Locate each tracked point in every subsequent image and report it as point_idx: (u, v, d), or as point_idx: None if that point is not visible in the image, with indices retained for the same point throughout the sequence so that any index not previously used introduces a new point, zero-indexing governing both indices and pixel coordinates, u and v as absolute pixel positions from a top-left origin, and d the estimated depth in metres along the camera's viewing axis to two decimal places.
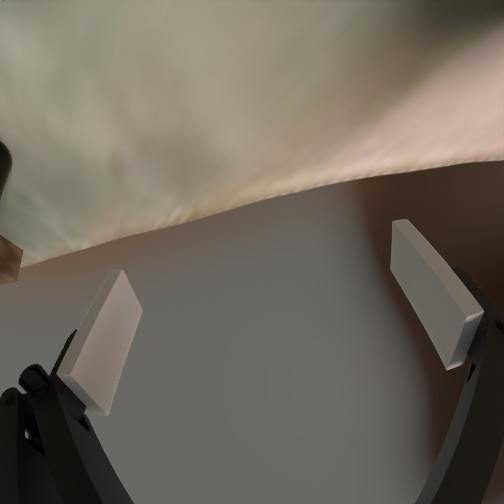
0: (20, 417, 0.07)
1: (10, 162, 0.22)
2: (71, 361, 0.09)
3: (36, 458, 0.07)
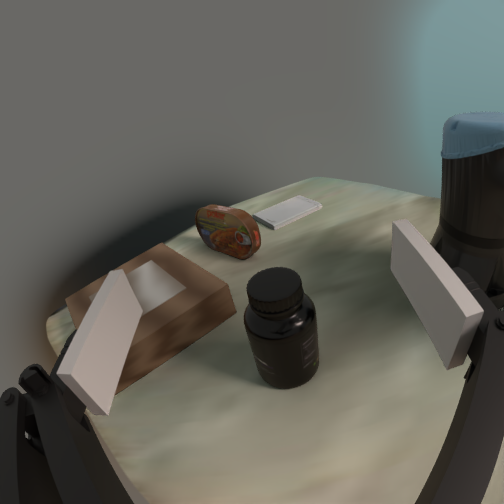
0: (20, 417, 0.07)
1: (294, 385, 0.30)
2: (71, 361, 0.09)
3: (36, 458, 0.07)
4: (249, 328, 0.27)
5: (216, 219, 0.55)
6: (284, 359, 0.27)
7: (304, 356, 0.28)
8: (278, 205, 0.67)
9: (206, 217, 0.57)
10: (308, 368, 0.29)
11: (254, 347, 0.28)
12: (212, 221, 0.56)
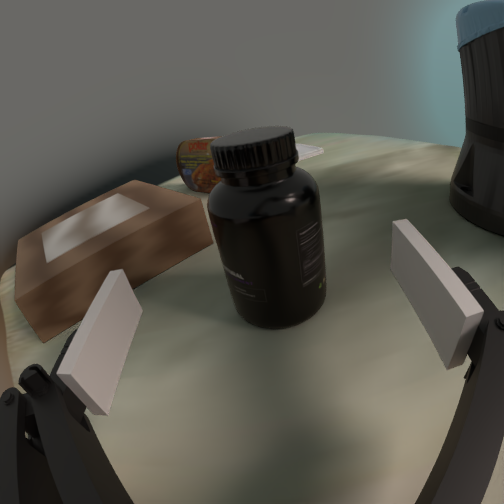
0: (20, 417, 0.07)
1: (288, 322, 0.20)
2: (71, 361, 0.09)
3: (36, 458, 0.07)
4: (213, 207, 0.17)
5: (198, 151, 0.45)
6: (269, 261, 0.17)
7: (302, 261, 0.18)
8: None
9: (188, 152, 0.47)
10: (310, 290, 0.19)
11: (222, 246, 0.18)
12: (194, 155, 0.46)
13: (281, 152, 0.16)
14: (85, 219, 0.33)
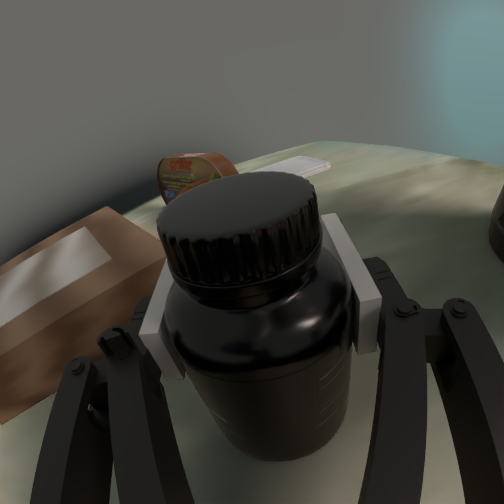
0: (86, 391, 0.08)
1: (292, 458, 0.12)
2: (154, 321, 0.11)
3: (94, 437, 0.08)
4: (170, 331, 0.10)
5: (181, 171, 0.37)
6: (266, 415, 0.09)
7: (320, 405, 0.10)
8: (272, 165, 0.50)
9: (169, 172, 0.39)
10: (327, 426, 0.11)
11: (191, 380, 0.11)
12: (177, 175, 0.38)
13: (293, 246, 0.08)
14: (43, 265, 0.25)
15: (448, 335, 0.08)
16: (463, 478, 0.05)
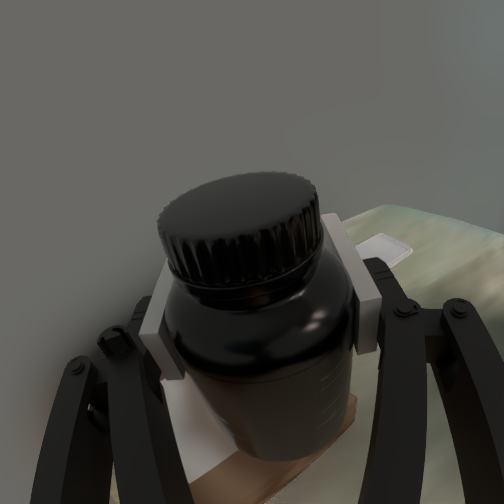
0: (86, 391, 0.08)
1: (293, 458, 0.12)
2: (154, 321, 0.11)
3: (94, 437, 0.08)
4: (171, 331, 0.10)
5: None
6: (267, 416, 0.09)
7: (321, 406, 0.10)
8: (360, 247, 0.52)
9: None
10: (328, 427, 0.11)
11: (192, 381, 0.11)
12: None
13: (294, 247, 0.08)
14: (199, 397, 0.28)
15: (448, 335, 0.08)
16: (463, 478, 0.05)
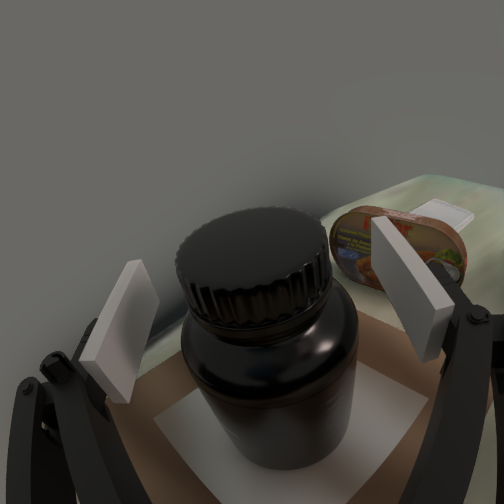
0: (38, 408, 0.08)
1: (298, 467, 0.13)
2: (94, 348, 0.10)
3: (51, 450, 0.07)
4: (188, 360, 0.10)
5: None
6: (277, 434, 0.10)
7: (325, 423, 0.11)
8: (418, 211, 0.41)
9: (359, 229, 0.30)
10: (331, 439, 0.12)
11: (207, 401, 0.11)
12: None
13: (306, 291, 0.08)
14: None
15: None
16: (498, 482, 0.05)
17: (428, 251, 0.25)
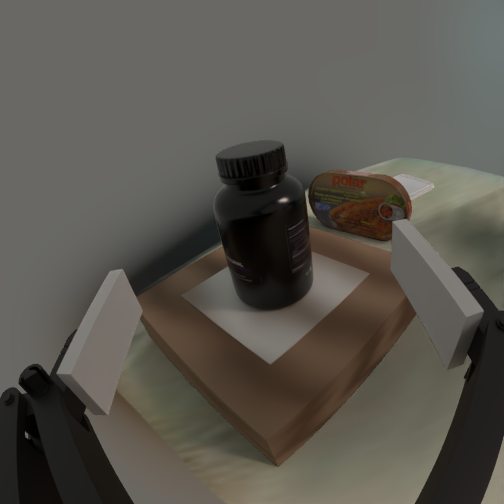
0: (20, 417, 0.07)
1: (280, 303, 0.24)
2: (71, 361, 0.09)
3: (36, 458, 0.07)
4: (218, 207, 0.21)
5: (347, 187, 0.39)
6: (264, 251, 0.21)
7: (291, 251, 0.22)
8: None
9: (329, 186, 0.41)
10: (298, 276, 0.23)
11: (225, 239, 0.22)
12: (340, 190, 0.40)
13: (273, 163, 0.20)
14: None
15: None
16: None
17: (379, 198, 0.37)
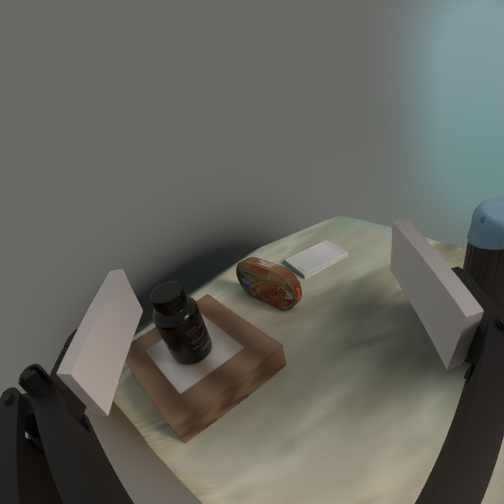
0: (20, 417, 0.07)
1: (190, 362, 0.44)
2: (71, 361, 0.09)
3: (36, 458, 0.07)
4: (153, 320, 0.41)
5: (258, 273, 0.60)
6: (175, 341, 0.41)
7: (190, 341, 0.42)
8: (307, 251, 0.72)
9: (248, 269, 0.62)
10: (197, 351, 0.43)
11: None
12: (255, 274, 0.61)
13: (175, 304, 0.40)
14: None
15: None
16: None
17: (277, 283, 0.57)
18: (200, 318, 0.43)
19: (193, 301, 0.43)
